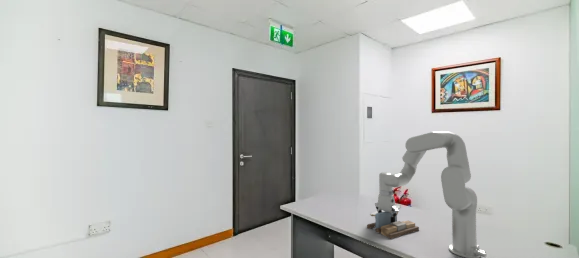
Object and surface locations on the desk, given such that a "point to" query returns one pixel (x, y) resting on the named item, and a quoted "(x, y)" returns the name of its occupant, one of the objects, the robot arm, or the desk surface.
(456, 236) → the robot arm
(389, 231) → the offcut
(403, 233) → the offcut rack
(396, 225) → the offcut
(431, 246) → the desk surface
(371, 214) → the baseboard molding
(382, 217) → the tall sheet
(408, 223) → the offcut
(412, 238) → the desk surface
